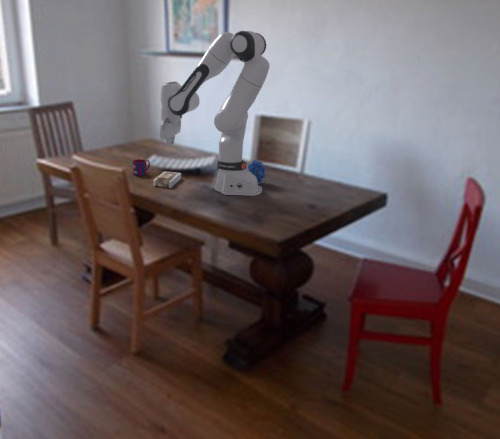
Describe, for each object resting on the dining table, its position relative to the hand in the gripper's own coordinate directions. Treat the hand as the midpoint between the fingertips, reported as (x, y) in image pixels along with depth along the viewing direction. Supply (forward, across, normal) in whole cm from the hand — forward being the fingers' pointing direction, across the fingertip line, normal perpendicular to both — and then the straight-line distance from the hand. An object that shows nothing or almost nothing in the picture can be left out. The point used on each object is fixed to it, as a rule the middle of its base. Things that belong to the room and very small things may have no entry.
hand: (170, 145), depth 267 cm
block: (+17, -8, 0) cm, 19 cm away
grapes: (+17, +6, -42) cm, 46 cm away
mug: (+17, +6, +17) cm, 25 cm away
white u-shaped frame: (+17, -5, 0) cm, 18 cm away
